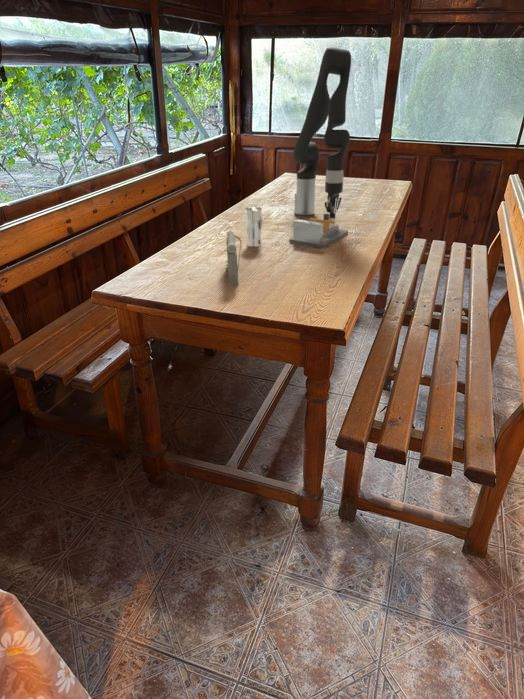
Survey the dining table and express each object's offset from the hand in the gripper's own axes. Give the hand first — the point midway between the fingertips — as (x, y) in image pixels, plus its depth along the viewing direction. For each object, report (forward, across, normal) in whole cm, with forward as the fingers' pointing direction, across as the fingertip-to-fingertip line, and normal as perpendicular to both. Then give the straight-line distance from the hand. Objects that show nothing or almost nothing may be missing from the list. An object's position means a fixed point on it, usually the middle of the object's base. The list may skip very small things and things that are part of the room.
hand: (332, 221), depth 219 cm
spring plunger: (+3, +6, 0) cm, 6 cm away
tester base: (+5, +12, 0) cm, 13 cm away
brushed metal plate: (+3, +22, 0) cm, 22 cm away
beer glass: (+5, +34, -20) cm, 39 cm away
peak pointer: (+3, +10, 0) cm, 10 cm away
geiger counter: (+5, +68, -6) cm, 68 cm away
